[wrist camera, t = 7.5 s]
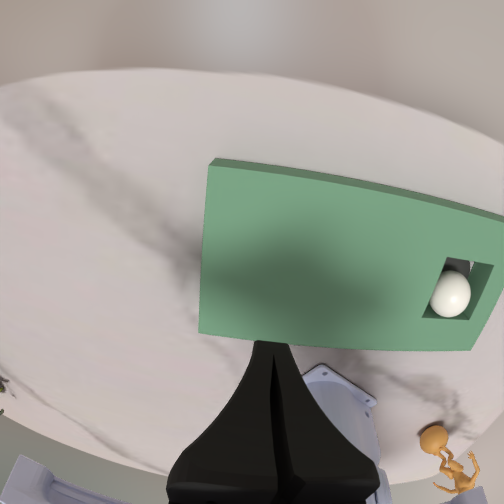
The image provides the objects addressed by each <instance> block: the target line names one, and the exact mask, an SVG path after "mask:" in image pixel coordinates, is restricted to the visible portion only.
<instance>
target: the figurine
mask: <svg viewBox="0 0 504 504" xmlns="http://www.w3.org/2000/svg"><path fill="white" fill-rule="evenodd" d="M447 441H448V433H447V431H446V430H445V429H444V428H443V427H441V426H431V427H429V428H427V429H426V430H425V431H424V432H423V434H422V435H421V438H420V446H421V448H422V450H423V451H424V452H426V453H429V454H433V455H437V456H439V457H440V458H441V459H442V460H443V461H442V463H441V466H440V469H439V470H440V472H442V473H444V474H445V475H447V476H448V477H449V478H450V479H453V477H454V480H455V489H454V490H449V489H447V488H445V487H442V486H438V485H436V484H435V483H433V484H434V485H435V486H436V487H437V488H439V489H441V490H444V491H446V492H448V493H451V494H452V493H458V495H459V494H460V493H462V492H465V491H467V490H470V489H473V488H474V486H475V483H474V482H475V479H476V478H477V476H478V474H479V471H480V469H479V466H478V465H477V462H476V460H475V457H474V454H473V453H472V454H471V453H470V454H471V455H470V454H468V455H469V456H470V457H468V458H470V459H472V461H473V464H474V467H475V470H476V472H475V473H474V475H473V476H472V478H470V477H468V476H466V475H465V474H464V473H463V472H462V471H463V466H462V465H460V464H459V463H457V462H456V461H454V460H451V459H453V457H454V455H453V454H452V452H451V451H450V450H448V449H447V448H446V447H445V446H446V444H447ZM441 450H443V451H445V452H446V453H448V454H449V456H448V465H449V466H450V468H446V467H444V466H445V465H446V463H447V461H446V458H445V457H444V456H443V455H442V454H441V453H440V451H441ZM471 452H472V451H471Z"/></svg>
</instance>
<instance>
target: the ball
mask: <svg viewBox="0 0 504 504" xmlns="http://www.w3.org/2000/svg"><path fill="white" fill-rule="evenodd" d="M470 296H471V290H470V285H469V283H468V281H467V279H466V278H465V277H464V276H463V275H462V274H461V273H459V272H456V271H451V270H450V271H444V272H442V273H441V274H440V276H439V279H438V281H437V284H436V286H435V288H434V291H433V293H432V295H431V298H430V300H429V303H430V306H431V307H432V309H433V310H434V311H435V312H436V313H437V314H439V315H440V316H443V317H454V316H457V315H459V314H460V313H462V312H463V311H464V310H465V308H466V307H467V305H468V303H469V301H470Z"/></svg>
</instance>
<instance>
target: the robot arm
mask: <svg viewBox="0 0 504 504" xmlns="http://www.w3.org/2000/svg"><path fill="white" fill-rule="evenodd" d="M376 404H377V400H376V399H375V398H373V397H372V396H370V395H369V394H367V393H365V392H364V391H362V390H361V389H359V388H358V387H356V386H355V385H353V384H352V383H350V382H349V381H347V380H346V379H344V378H343V377H341V376H340V375H338V374H337V373H335V372H334V371H332V370H331V369H329V368H328V367H326V366H325V365H319V366H317V367H315V368H314V369H312V370H311V371H310V372H308V373H307V374H305V375H304V376H301V374H300V372H299V370H298V367H297V365H296V363H295V361H294V358H293V356H292V353H291V351H290V348H289V345H288V344H287V343H280V342H271V341H262V340H256V341H255V342H254V346H253V351H252V356H251V359H250V362H249V365H248V367H247V369H246V371H245V374H244V376H243V378H242V380H241V381H240V383H239V385H238V387H237V389H236V390H235V392H234V394H233V395H232V397H231V398H230V400H229V401H228V403H227V404H226V406H225V407H224V408H223V410H222V411H221V412H220V414H219V415H218V416H217V417H216V419H215V420H214V421H213V422H212V423H211V424H210V425H209V427H208V428H207V429H206V430H205V431H204V432H203V433H202V434H201V435H200V436H199V437H198V438H197V439H196V440H195V441H194V442H193V443H191V444H190V445H189V446H188V447H187V448H186V449H185V450H184V451H183V452H182V453H181V455H180V456H179V458H178V459H177V461H176V462H175V464H174V466H173V467H172V469H171V471H170V474H169V476H168V481H167V486H166V491H167V495H168V498H169V504H392V498H391V492H390V487H389V483H388V479H387V475H386V473H385V471H384V470H382V469H379V467H378V464H379V461H380V455H381V451H380V446H379V441H378V437H377V433H376V429H375V425H374V421H373V417H372V413H371V409H370V408H371V407H373V406H375V405H376ZM0 502H1V503H2V504H131V503H128V502H124V501H121V500H117V499H114V498H111V497H108V496H105V495H102V494H99V493H96V492H93V491H91V490H88V489H85V488H83V487H80V486H77V485H75V484H72V483H70V482H68V481H65V480H63V479H60V478H58V477H56V476H54V475H53V473H52V472H51V471H50V470H49V469H48V468H47V467H45V466H43V465H42V464H40V463H38V462H36V461H34V460H32V459H30V458H28V457H26V456H24V455H19V457H18V459H17V461H16V463H15V465H14V467H13V469H12V471H11V474H10V476H9V478H8V480H7V483H6V485H5V487H4V489H3V491H2V494H1V496H0ZM441 504H487V500H486V497H485V494H484V491H483V487H482V486H479V487H476V488H473V489H470V490H467V491H465V492H462V493H460V494H459V495H457V496H456V497H454V498H453V499H452V500H451V501H448V502H445V503H441Z"/></svg>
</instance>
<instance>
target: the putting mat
mask: <svg viewBox="0 0 504 504" xmlns="http://www.w3.org/2000/svg"><path fill="white" fill-rule="evenodd" d="M469 261H474V265H473V267H472V270H471V272H470V262H469ZM450 270H451V271H456V272H459V273H461V274H462V275H463V276H464V277H465V278H466V279H468V280H467V281H468V283H469V285H470V290H471V296H470V301H469V303H468V305H467V307H466V308H465V310H464V311H463V312H462V313H460V314H459V315H457V316H454V317H443V316H440V315H439V314H437V313H436V312H435V311H434V310H433V309H432V307H431V306H430V303H429V300H430V298H431V295H432V293H433V291H434V288H435V286H436V284H437V281H438V279H439V276H440V274H441V273H442V272H444V271H450ZM469 273H470V275H469ZM503 288H504V217H503V216H500V215H497V214H494V213H491V212H487V211H484V210H481V209H477V208H474V207H470V206H467V205H463V204H459V203H456V202H452V201H448V200H445V199H441V198H437V197H433V196H429V195H425V194H421V193H417V192H413V191H408V190H404V189H400V188H395V187H391V186H386V185H382V184H377V183H372V182H367V181H362V180H357V179H352V178H347V177H342V176H336V175H331V174H325V173H319V172H313V171H307V170H301V169H295V168H288V167H281V166H274V165H267V164H260V163H252V162H244V161H236V160H227V159H217V158H215V159H214V160H213V161H212V162H211V163H210V164H209V166H208V177H207V189H206V201H205V215H204V229H203V244H202V261H201V279H200V301H199V328H198V333H202V334H208V335H215V336H222V337H230V338H237V339H245V340H253V341H256V340H262V341H271V342H280V343H287V344H291V345H302V346H314V347H328V348H343V349H361V350H386V351H471V349H472V347H473V346H474V344H475V342H476V340H477V339H478V337H479V335H480V333H481V332H482V330H483V328H484V326H485V324H486V322H487V320H488V319H489V317H490V315H491V313H492V311H493V309H494V307H495V305H496V303H497V301H498V299H499V296H500V294H501V292H502V290H503Z"/></svg>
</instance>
